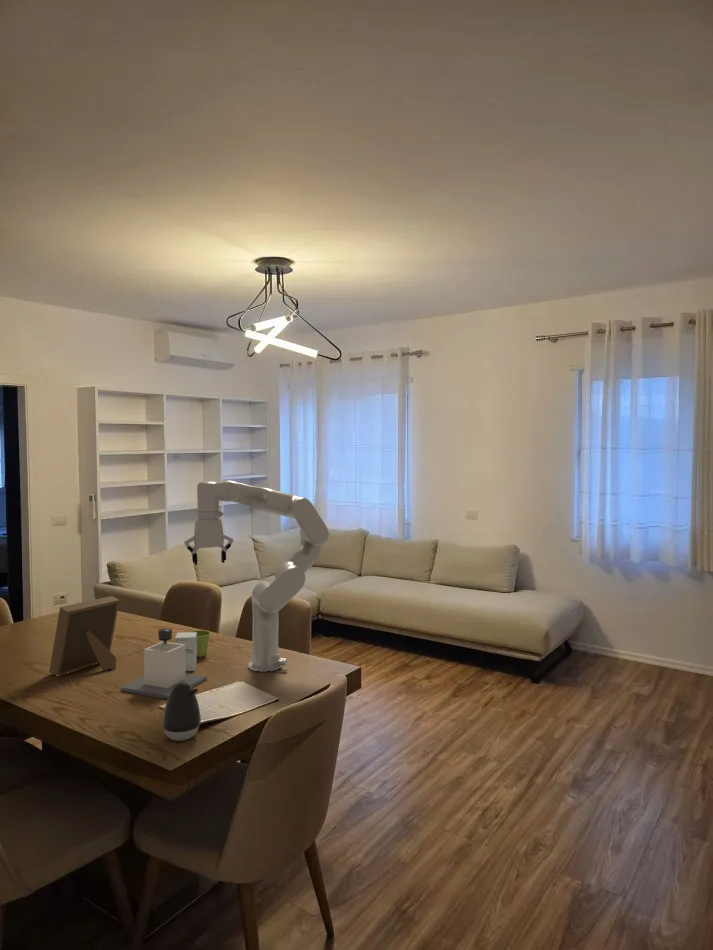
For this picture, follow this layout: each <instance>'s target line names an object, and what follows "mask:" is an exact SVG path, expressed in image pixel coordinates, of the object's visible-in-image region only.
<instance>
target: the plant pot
mask: <svg viewBox="0 0 713 950" xmlns="http://www.w3.org/2000/svg"><path fill="white" fill-rule="evenodd" d="M190 632H197V653H196V658H197V657H199V658H202V657H205V656H207V653H208V646H209V645H208V644H209V639H210V635H211V634H212V632H211V631H210V630H204V629H201V630H200V629H199V630H198V629H197V630H192V631H190Z"/></svg>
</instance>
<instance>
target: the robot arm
mask: <svg viewBox="0 0 713 950" xmlns="http://www.w3.org/2000/svg"><path fill="white" fill-rule="evenodd" d="M196 498H197V499H196V501H197V519H196V520H195V522H194V530H193V531H194V532H193V536H192V537H190V538H188V539H186V540H184V542H183V543H184V545H185V547H186V549H187V550H188V551H189V552H190V553H191V554H192V563H194V566H196V565H198V553H197V552H198V550H199V549H208V548H209V549H212V548H220V549H221V551H220V553H221V558H220V559H221V563H223V564H224V563H225V561H227V552H228V550H229V549H230V548H231V547H232V544H233V543H234V538H232V537H230V536H228V535H225V534H224V529H223V523H222V519H221V517H223V516H224V512H221V511H220V502H228V503H231V502H232V503H236V504H240V505H245V506H249V507H251V508H253V509H256V510H259V511H262V512H266V513H270V514H273V515H274V514H275V515H278V516H282V517H287V518H291V519H294V520H295V521H296V523H297V525H298V526H299V528H300V531H299V535H300V542H299V546H298V547H297V548H296V550H294V551H293V553H292V554H290V556H289V557H288V558H286V559H285V560H284V561H283V562H282V563H281V564H280V565H279V566H278V567H277V568H276V569H275V572H274V580H273V581H272V582H270V581H261V582H259V583H257V584H256V585H255V586H254V588H253V589H252V592H251V608H252V609H251V610H252V651H251V652H252V653H251V654H252V656H251V657H252V658H251V661H249V662H248V664H247V668H248V669H249V670H250V671H253V672H257V671H259V673H268V672H267V671H270V672H274V670H275V671H278V670H280V669H281V668H282V667H283V666H284V667H286V666H287V665H288V660H287V658H283V657H281V653H279V620H280V619H279V611H281V610H282V609H283V608H284V607H285V606H286V605H287V604H288V603H289V602H290V601H291V600H292V599H294V597H295V596H296V595H298V593H299V592H300V591H301V590H302V589H303V587H304V585H305V583H306V572H307V571H309V570H310V568H311V567H312V566H313V565H314V564H315V563H316V561H317V560H318V558H319V556H320V554H321V549H322V545H324V544H325V543H327V542H328V539H329V535H330V532H329V528H328V527H327V525H326V524H325V522H324V521H323V519H322V518H321V515H320V514H319V512H318V511H317V509H316V507H315V506H314V504H313V503H312V501H310V500H309V499H308V498H306V497H303V496H298V495H295V494H290V493H286V492H282V491H278V490H275V489H271V488H267V487H259V486H253V485H249V484H245V483H240V482H238V481H233V480H229V479H227V480H222V481H220V482H216V481H201V482H198V483H197V485H196ZM225 540H226V541H228V542H227V544H225V545H224V542H225ZM192 542H193V543H194V547H191V546H190V545H191V543H192ZM279 668H280V669H279ZM277 669H278V670H277Z"/></svg>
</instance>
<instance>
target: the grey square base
mask: <svg viewBox="0 0 713 950" xmlns="http://www.w3.org/2000/svg"><path fill="white" fill-rule="evenodd" d="M143 650H144V651H143V656H144V658H143V660H144V661H143V663H144V664H143V676H142V677H139V678H138V679H135V680H133V681H131V682H129V683H127V684H125V685H122V686H121V687H120V692H124V691H125V693H130V694H136V693H137V694H136V695H141V694H142V695H141V696H147V697H152V696H153V698H159V699H163V698H164V699H165V700H168V697H169V695H170V693H171V691H172V689H173V687H174V686H175V685H176V684H178V683H182V682H184V683H188V684H189V685H190V686H191V687H192V689H194V687H196V686H198V685H200V684H201V683H203V681H204V682H205V681H207V679H208V675H200V674H196V673H187V672H186V671H185V658H186V645H185V644H178V643H175V642H169V641H167V651H163V641H160V642H158V643H156V644H154V645H153V644H152V645H151V646H147V647H146V648H144V649H143ZM164 699H163V700H164Z"/></svg>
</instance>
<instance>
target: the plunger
mask: <svg viewBox="0 0 713 950" xmlns="http://www.w3.org/2000/svg"><path fill="white" fill-rule="evenodd" d="M157 635H158V641H160V642H163V651H167V642H168V641H171V640H172V639H173V629H172V628H160V629H158V634H157Z"/></svg>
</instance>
